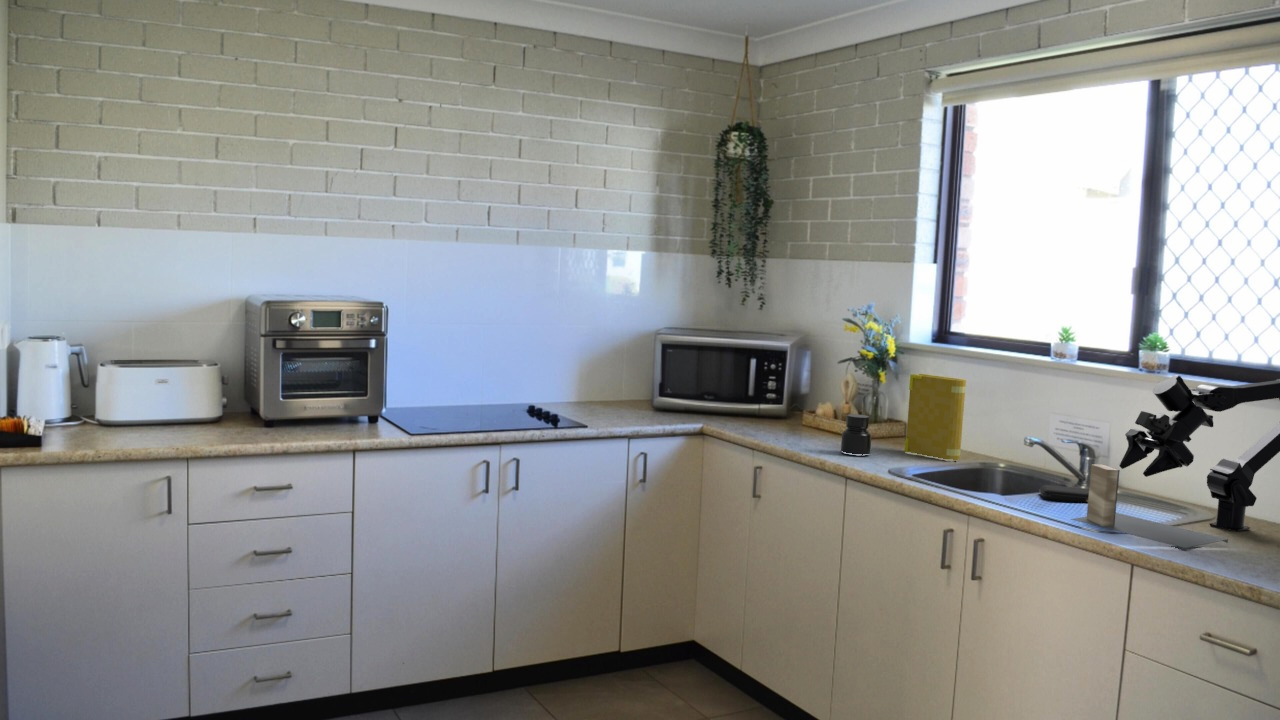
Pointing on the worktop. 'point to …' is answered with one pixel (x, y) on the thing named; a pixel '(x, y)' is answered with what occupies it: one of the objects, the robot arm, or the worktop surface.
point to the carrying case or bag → (1065, 494)
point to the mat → (1158, 532)
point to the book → (935, 416)
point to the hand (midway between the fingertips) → (1132, 471)
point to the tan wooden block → (1103, 494)
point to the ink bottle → (856, 435)
